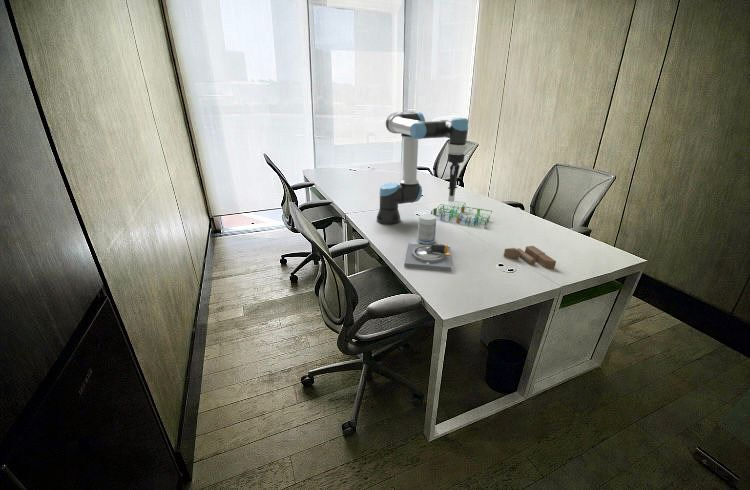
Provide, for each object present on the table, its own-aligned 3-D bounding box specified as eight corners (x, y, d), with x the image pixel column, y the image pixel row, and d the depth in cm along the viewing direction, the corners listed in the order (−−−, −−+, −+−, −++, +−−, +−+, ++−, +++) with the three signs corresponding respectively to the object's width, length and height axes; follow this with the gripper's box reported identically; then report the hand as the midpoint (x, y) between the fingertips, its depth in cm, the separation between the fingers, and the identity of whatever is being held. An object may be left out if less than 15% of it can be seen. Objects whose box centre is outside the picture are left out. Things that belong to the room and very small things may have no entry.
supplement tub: (437, 244, 182) (439, 219, 175) (420, 245, 180) (422, 220, 173) (430, 236, 190) (432, 212, 184) (414, 238, 188) (416, 214, 182)
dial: (416, 259, 161) (416, 248, 159) (416, 248, 172) (417, 238, 170) (447, 261, 160) (448, 250, 157) (446, 250, 170) (447, 240, 168)
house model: (430, 218, 217) (430, 211, 215) (443, 205, 240) (444, 199, 238) (484, 228, 202) (485, 221, 200) (493, 213, 225) (494, 207, 223)
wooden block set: (532, 242, 172) (557, 259, 156) (530, 252, 174) (554, 269, 159) (504, 246, 168) (526, 263, 152) (502, 256, 170) (524, 273, 155)
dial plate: (404, 266, 159) (404, 260, 158) (408, 246, 179) (408, 241, 177) (450, 271, 156) (451, 264, 154) (449, 250, 175) (450, 244, 174)
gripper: (462, 156, 148) (456, 206, 159) (466, 151, 159) (460, 198, 170) (446, 155, 151) (441, 204, 161) (450, 150, 162) (445, 196, 172)
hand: (451, 201), depth 165 cm, fingers closed
